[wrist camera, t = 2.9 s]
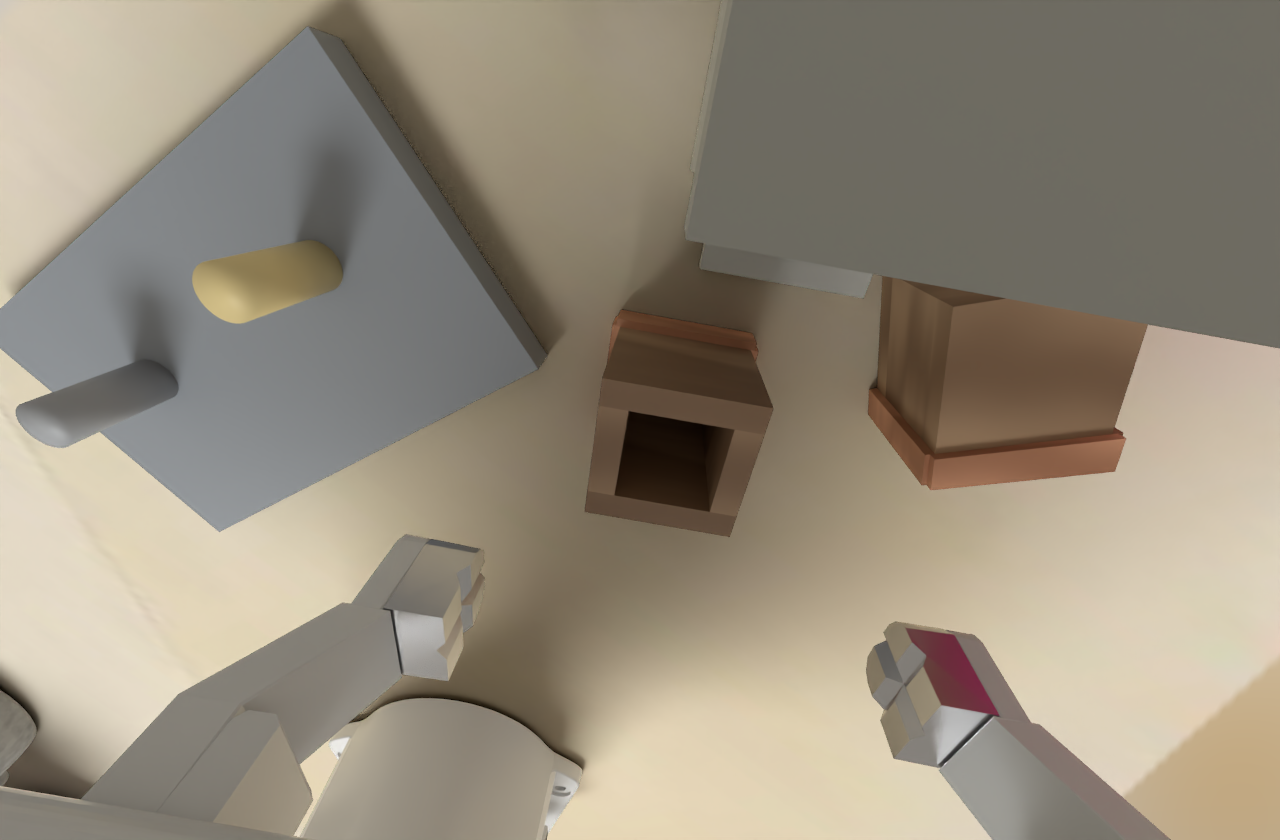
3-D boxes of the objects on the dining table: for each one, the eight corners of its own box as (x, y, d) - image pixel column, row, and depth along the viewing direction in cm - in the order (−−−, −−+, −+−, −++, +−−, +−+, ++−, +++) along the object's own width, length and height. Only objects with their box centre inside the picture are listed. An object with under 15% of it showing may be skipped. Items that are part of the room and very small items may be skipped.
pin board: (547, 355, 20) (505, 417, 15) (243, 512, 25) (140, 594, 20) (339, 38, 15) (179, -21, 10) (22, 318, 21) (-178, 366, 16)
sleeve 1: (721, 450, 21) (736, 544, 16) (600, 429, 21) (574, 517, 16) (756, 333, 19) (787, 401, 13) (616, 309, 19) (593, 367, 13)
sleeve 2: (1013, 396, 19) (1120, 470, 14) (868, 414, 20) (925, 490, 15) (1043, 242, 16) (1189, 274, 12) (874, 271, 17) (946, 311, 13)
